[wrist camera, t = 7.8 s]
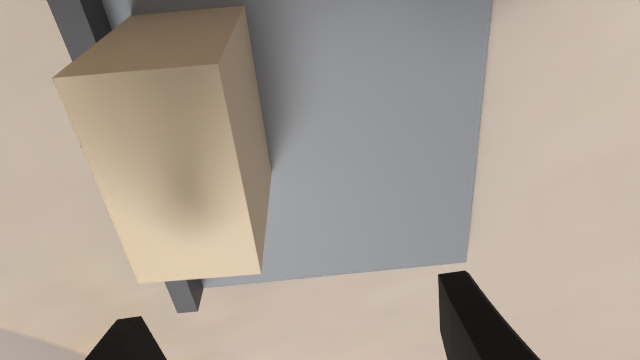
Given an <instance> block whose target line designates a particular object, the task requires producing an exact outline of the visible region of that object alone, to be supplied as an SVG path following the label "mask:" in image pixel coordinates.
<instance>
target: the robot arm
mask: <svg viewBox="0 0 640 360" xmlns="http://www.w3.org/2000/svg"><path fill="white" fill-rule="evenodd" d="M438 283H439V311H440V332H441V336H442V340H443V344H444V348H445V352H446V356H447V360H540V359H539V358H538V357H537V356H536V354H535V353H534V352H533V351H532V350H531V349H530V348H529V347H528V346H527V344H526V343H525V342H524V341H523V340H522V339H521V338H520V337H519V336H518V334H517V333H516V332H515V331H514V330H513V329H512V328H511V326H510V325H509V324H508V323H507V322H506V321H505V319H504V318H503V317H502V316H501V315H500V313H499V312H498V311H497V310H496V308H495V307H494V306H493V305H492V304H491V302H490V301H489V300H488V298H487V297H486V296H485V295H484V293H483V292H482V291H481V289H480V288H479V287H478V285H477V284H476V282H475V281H474V280H473V278H472V277H471V275H470V274H469V273H468V272H466V271H459V272H452V273H444V274H438ZM85 360H167V359H166V358H165V356H164V354H163V353H162V351H161V349H160V347H159V346H158V344H157V342H156V341H155V339H154V337H153V336H152V334H151V332H150V330H149V329H148V327H147V325H146V324H145V322H144V320H143V319H142V317H141V316H139V317H132V318H125V319H118V320H117V321H116V322H115V323H114V324H113V325H112V326H111V328H110V329H109V330H108V331H107V333H106V334H105V335H104V336H103V337H102V339H101V340H100V341H99V342H98V344H97V345H96V346H95V347H94V349H93V350H92V351H91V352H90V354H89V355H88V356H87V357H86V359H85Z"/></svg>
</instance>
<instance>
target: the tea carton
mask: <svg viewBox="0 0 640 360" xmlns="http://www.w3.org/2000/svg"><path fill="white" fill-rule="evenodd" d="M52 79H53V81H54V84H55V86H56V88H57V91H58V93H59V95H60V98H61V100H62V103H63V105H64V107H65V110H66V112H67V114H68V117H69V119H70V122H71V124H72V126H73V129H74V131H75V133H76V136H77V138H78V141H79V143H80V145H81V148H82V150H83V152H84V155H85V157H86V160H87V162H88V164H89V167H90V169H91V171H92V174H93V176H94V179H95V181H96V183H97V186H98V188H99V190H100V193H101V195H102V198H103V200H104V202H105V205H106V207H107V209H108V212H109V214H110V217H111V219H112V221H113V224H114V226H115V228H116V231H117V233H118V236H119V238H120V240H121V243H122V245H123V247H124V250H125V252H126V255H127V257H128V259H129V262H130V264H131V266H132V269H133V271H134V274H135V276H136V278H137V281H138V283H152V282H165V281H178V280H190V279H203V278H216V277H229V276H242V275H255V274H261V270H262V261H263V251H264V242H265V232H266V223H267V213H268V204H269V194H270V185H271V175H272V173H271V167H270V160H269V154H268V148H267V142H266V136H265V129H264V123H263V117H262V111H261V104H260V98H259V92H258V86H257V80H256V73H255V67H254V61H253V55H252V48H251V42H250V36H249V30H248V24H247V17H246V11H245V6H234V7H223V8H211V9H200V10H188V11H177V12H165V13H154V14H142V15H131V16H130V17H128V18H127V19H126V20H125V21H123V22H122V23H121V24H120V25H118V26H117V27H116V28H115V29H113V30H112V31H111V32H110V33H108V34H107V35H106V36H105V37H103V38H102V39H101V40H99V41H98V42H97V43H96V44H94V45H93V46H92V47H91V48H89V49H88V50H87V51H86V52H84V53H83V54H82V55H81V56H79V57H78V58H77V59H76V60H74V61H73V62H72V63H70V64H69V65H68V66H67V67H65V68H64V69H63V70H62V71H60V72H59V73H58V74H57V75H55V76H54V77H53V78H52Z"/></svg>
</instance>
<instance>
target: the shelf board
mask: <svg viewBox="0 0 640 360" xmlns="http://www.w3.org/2000/svg"><path fill="white" fill-rule="evenodd" d="M47 2H48V4H49V6H50V9H51V11H52V14H53V16H54V18H55V21H56V23H57V26H58V28H59V30H60V33H61V35H62V38H63V40H64V42H65V45H66V47H67V50H68V52H69V54H70V57H71V59H72V62H73V61H74V60H76V59H77V58H78V57H79V56H81V55H82V54H83V53H84V52H86V51H87V50H88V49H89V48H91V47H92V46H93V45H94V44H96V43H97V42H98V41H99V40H101V39H102V38H103V37H105V36H106V35H107V34H108V33H110V32H111V31H112V30H113V29H115V28H116V27H117V26H118V25H120V24H121V23H122V22H123V21H125V20H126V19H127V18H128V17H130V16H131V15H142V14H154V13H165V12H177V11H188V10H200V9H211V8H223V7H234V6H245V11H246V17H247V24H248V30H249V36H250V42H251V48H252V55H253V61H254V67H255V73H256V80H257V86H258V92H259V98H260V104H261V111H262V117H263V123H264V129H265V136H266V142H267V148H268V154H269V160H270V167H271V173H272V175H271V185H270V194H269V204H268V213H267V223H266V232H265V242H264V251H263V261H262V270H261V274H255V275H242V276H229V277H216V278H203V279H190V280H178V281H165V284H166V286H167V289H168V291H169V294H170V296H171V298H172V301H173V303H174V306H175V308H176V310H177V313H185V312H196V311H198V309H199V304H200V300H201V296H202V292H203V288H211V287H221V286H231V285H241V284H251V283H261V282H271V281H281V280H292V279H302V278H312V277H322V276H332V275H342V274H352V273H362V272H372V271H382V270H393V269H403V268H413V267H423V266H433V265H443V264H453V263H463V262H466V260H467V250H468V240H469V230H470V220H471V210H472V200H473V190H474V180H475V170H476V160H477V150H478V140H479V130H480V120H481V110H482V100H483V90H484V80H485V70H486V60H487V50H488V40H489V30H490V20H491V10H492V0H47Z"/></svg>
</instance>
